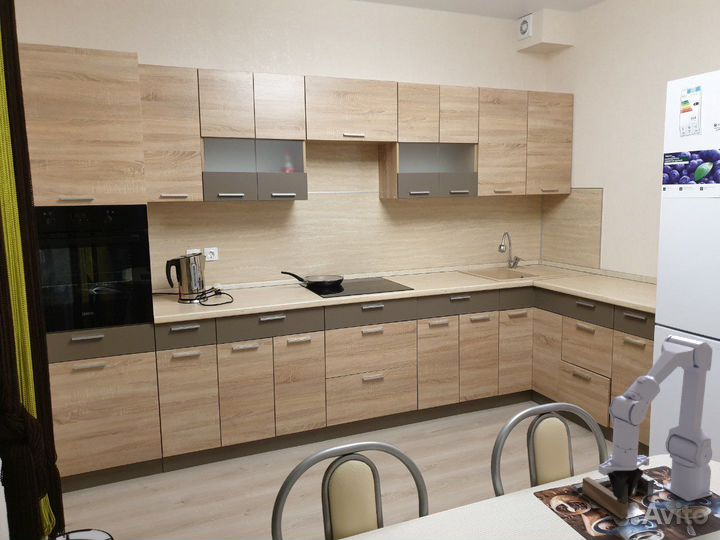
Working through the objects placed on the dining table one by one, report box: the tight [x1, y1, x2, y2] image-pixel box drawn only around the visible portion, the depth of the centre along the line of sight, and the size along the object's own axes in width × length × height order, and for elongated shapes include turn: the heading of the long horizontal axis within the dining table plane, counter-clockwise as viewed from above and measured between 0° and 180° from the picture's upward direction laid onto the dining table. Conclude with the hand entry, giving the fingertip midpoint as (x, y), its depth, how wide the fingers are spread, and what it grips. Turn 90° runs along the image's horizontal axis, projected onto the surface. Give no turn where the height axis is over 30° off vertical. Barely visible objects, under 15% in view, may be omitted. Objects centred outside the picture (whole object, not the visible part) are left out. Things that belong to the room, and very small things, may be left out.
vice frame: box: [572, 472, 655, 522], centre depth 146 cm, size 18×16×4 cm
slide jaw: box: [581, 476, 629, 519], centre depth 142 cm, size 2×14×9 cm, turn 21°
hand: (622, 495), depth 137 cm, fingers open, 2 cm apart
